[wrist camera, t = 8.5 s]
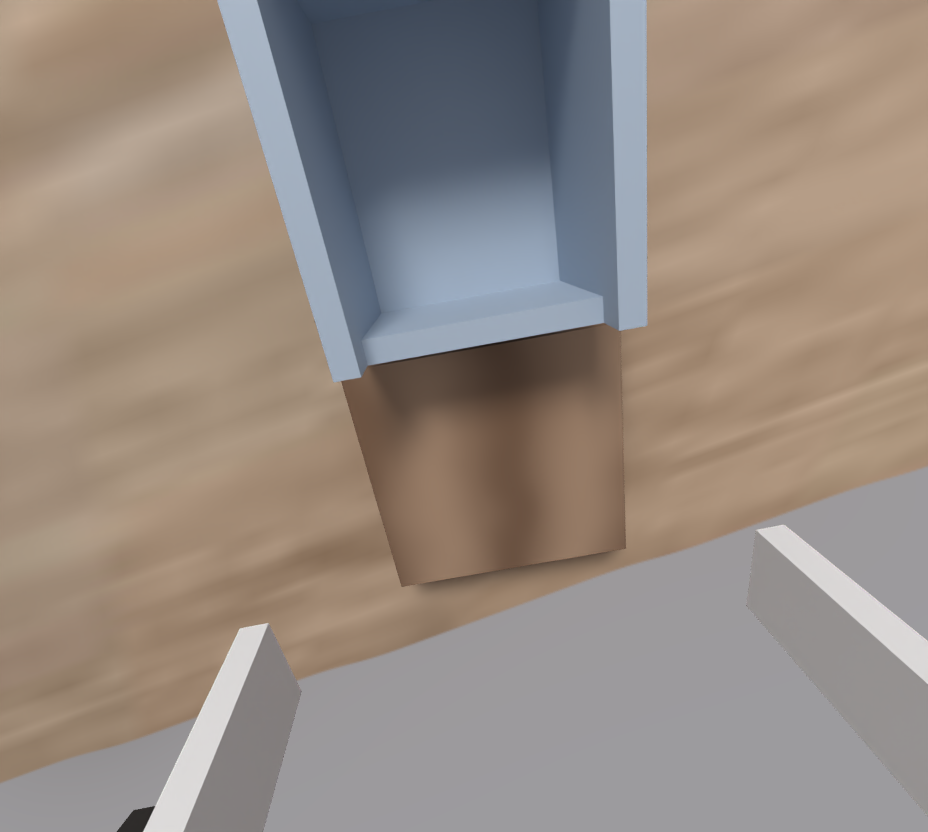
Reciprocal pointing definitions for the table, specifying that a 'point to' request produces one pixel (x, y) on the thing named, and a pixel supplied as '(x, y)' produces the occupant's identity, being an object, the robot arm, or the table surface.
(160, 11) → the table surface
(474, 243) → the slide box
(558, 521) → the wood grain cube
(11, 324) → the table surface
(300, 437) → the table surface
